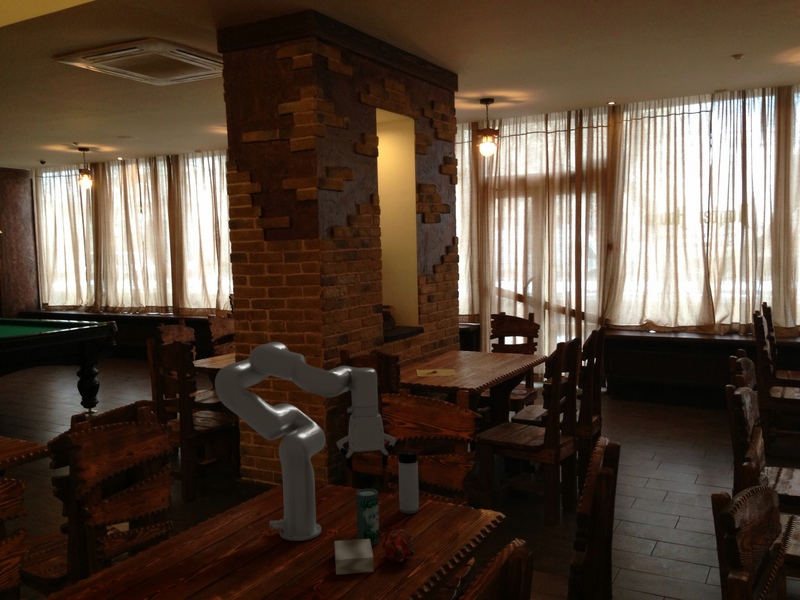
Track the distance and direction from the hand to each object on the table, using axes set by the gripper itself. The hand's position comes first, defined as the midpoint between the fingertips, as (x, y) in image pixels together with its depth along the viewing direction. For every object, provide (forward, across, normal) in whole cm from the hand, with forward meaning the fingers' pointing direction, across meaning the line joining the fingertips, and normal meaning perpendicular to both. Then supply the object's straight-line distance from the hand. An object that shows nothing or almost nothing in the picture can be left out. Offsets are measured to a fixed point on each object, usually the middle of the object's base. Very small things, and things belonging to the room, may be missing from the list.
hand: (367, 468), depth 203 cm
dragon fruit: (+22, +7, -12) cm, 27 cm away
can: (+22, 0, 0) cm, 22 cm away
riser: (+22, -6, -13) cm, 26 cm away
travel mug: (+22, +15, +22) cm, 35 cm away
